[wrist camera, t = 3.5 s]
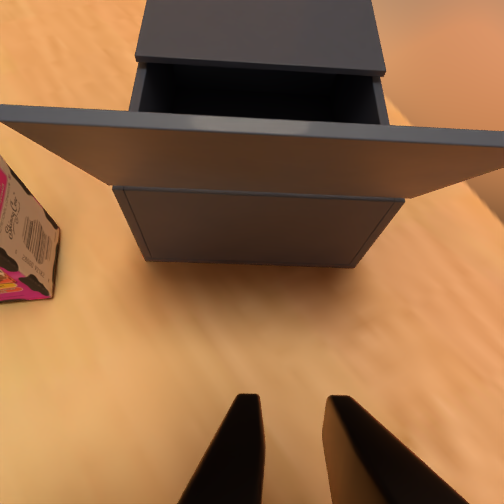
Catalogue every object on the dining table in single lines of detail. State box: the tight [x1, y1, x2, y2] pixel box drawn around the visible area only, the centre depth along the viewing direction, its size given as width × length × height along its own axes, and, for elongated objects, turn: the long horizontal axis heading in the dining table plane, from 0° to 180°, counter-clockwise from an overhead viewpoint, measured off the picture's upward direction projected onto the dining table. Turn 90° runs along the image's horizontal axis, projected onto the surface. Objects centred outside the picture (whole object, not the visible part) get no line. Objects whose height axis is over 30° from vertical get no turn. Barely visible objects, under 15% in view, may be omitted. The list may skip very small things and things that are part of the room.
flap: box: [0, 104, 504, 199], centre depth 12 cm, size 7×13×1 cm
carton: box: [112, 0, 405, 268], centre depth 23 cm, size 15×13×8 cm
